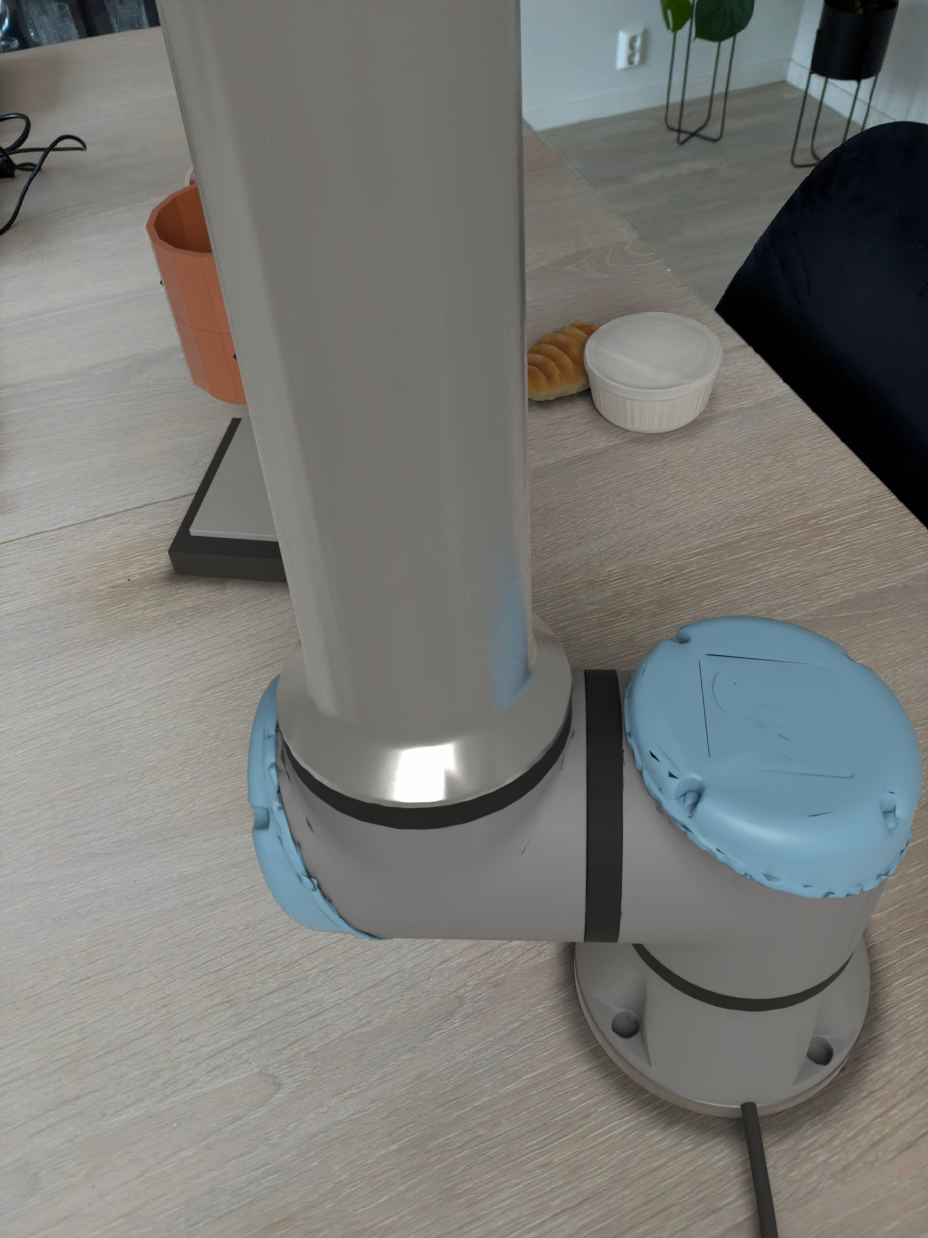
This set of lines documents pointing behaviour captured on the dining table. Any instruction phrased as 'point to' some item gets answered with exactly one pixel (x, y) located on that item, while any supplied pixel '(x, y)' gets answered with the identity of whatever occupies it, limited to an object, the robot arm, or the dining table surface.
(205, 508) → the scale
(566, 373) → the pastry
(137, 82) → the dining table surface
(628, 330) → the ramekin
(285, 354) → the robot arm
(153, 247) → the orange faceted hollow container
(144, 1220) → the dining table surface
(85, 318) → the dining table surface
